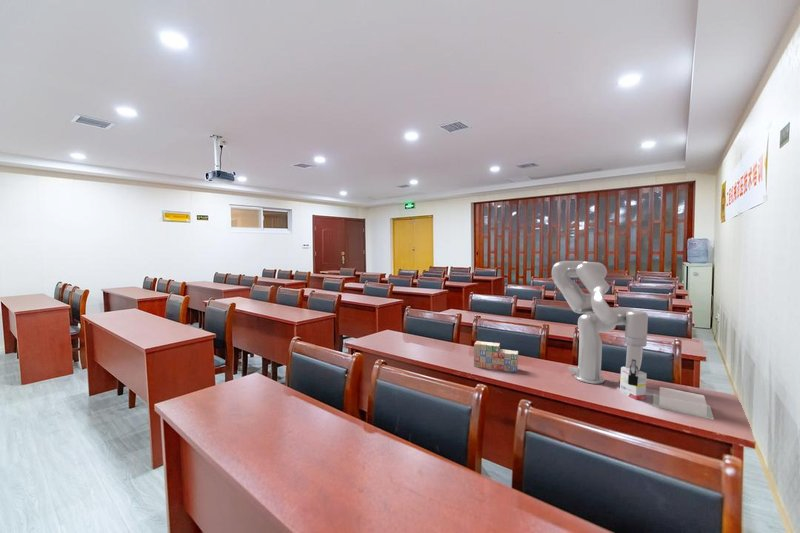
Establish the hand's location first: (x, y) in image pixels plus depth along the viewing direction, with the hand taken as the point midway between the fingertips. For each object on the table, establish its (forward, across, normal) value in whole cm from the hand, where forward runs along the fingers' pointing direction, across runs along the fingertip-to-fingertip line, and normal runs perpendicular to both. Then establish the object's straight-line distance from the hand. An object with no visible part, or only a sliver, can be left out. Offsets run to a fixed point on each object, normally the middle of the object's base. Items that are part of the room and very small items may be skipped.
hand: (633, 381), depth 148 cm
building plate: (+7, 0, +16) cm, 17 cm away
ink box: (+7, 0, 0) cm, 7 cm away
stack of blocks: (+7, 0, -59) cm, 60 cm away
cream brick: (+6, 0, +16) cm, 17 cm away
